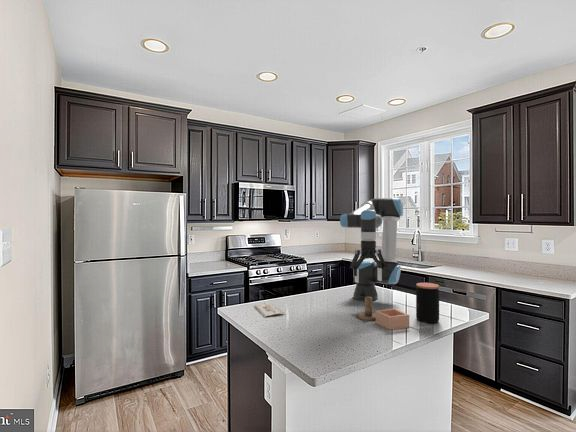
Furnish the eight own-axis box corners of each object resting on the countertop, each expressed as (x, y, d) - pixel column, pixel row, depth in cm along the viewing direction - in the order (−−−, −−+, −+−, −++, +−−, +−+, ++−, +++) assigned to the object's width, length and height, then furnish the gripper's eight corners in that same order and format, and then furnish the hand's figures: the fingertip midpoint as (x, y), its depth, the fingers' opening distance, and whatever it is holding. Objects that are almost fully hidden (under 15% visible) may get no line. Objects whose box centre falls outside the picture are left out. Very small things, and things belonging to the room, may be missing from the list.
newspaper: (286, 316, 176) (286, 311, 176) (264, 321, 172) (264, 316, 172) (273, 304, 198) (273, 300, 198) (253, 309, 194) (253, 304, 193)
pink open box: (394, 320, 167) (394, 308, 167) (409, 327, 156) (409, 314, 156) (375, 323, 163) (375, 310, 163) (389, 330, 153) (389, 317, 153)
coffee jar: (421, 316, 174) (421, 281, 174) (442, 320, 167) (442, 284, 167) (412, 320, 167) (412, 284, 167) (433, 325, 159) (434, 288, 159)
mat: (372, 312, 181) (372, 311, 181) (388, 320, 167) (388, 319, 167) (349, 315, 176) (349, 314, 176) (364, 323, 163) (364, 322, 163)
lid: (372, 312, 180) (372, 293, 180) (386, 319, 168) (386, 299, 168) (351, 314, 176) (351, 295, 176) (364, 321, 164) (364, 301, 164)
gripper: (384, 239, 179) (384, 278, 179) (343, 240, 171) (343, 281, 171) (393, 240, 172) (393, 281, 172) (350, 241, 164) (350, 284, 164)
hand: (368, 281), depth 172 cm, fingers open, 13 cm apart
